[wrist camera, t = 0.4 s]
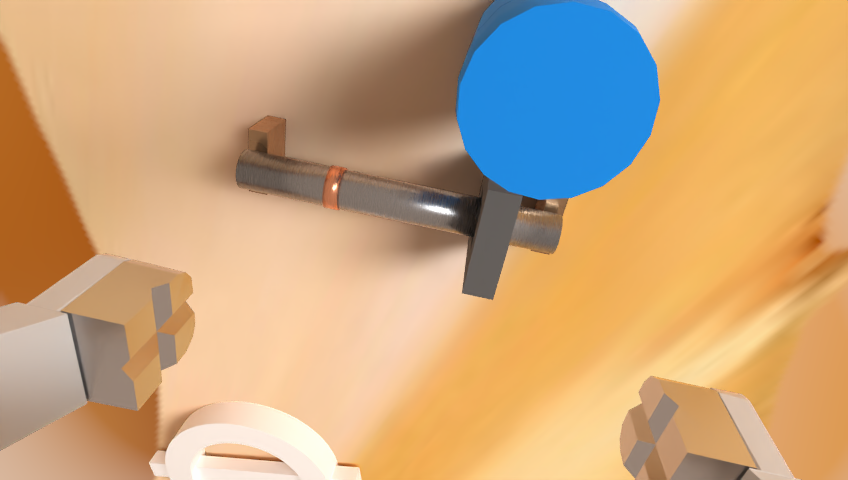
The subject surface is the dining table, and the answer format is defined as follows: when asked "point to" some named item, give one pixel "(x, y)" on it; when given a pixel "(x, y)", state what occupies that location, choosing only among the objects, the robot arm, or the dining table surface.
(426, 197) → the pipe rig
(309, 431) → the ring with crossbar
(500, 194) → the collar
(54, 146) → the dining table surface
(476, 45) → the thermos
